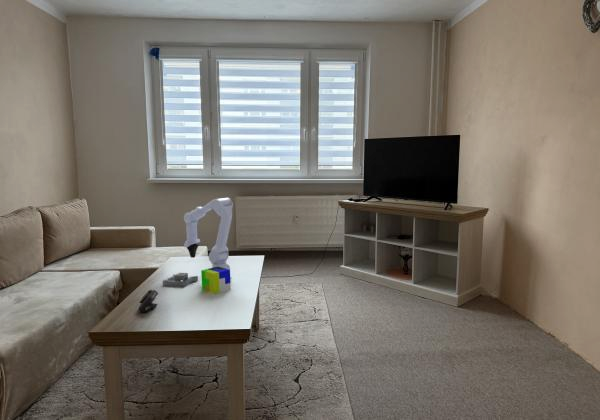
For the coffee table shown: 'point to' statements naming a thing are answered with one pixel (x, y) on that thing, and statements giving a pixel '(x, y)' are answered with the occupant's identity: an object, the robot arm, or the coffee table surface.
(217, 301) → the coffee table surface
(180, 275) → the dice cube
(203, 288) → the puzzle toy
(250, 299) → the coffee table surface
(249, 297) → the coffee table surface
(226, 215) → the robot arm
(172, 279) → the chassis bay
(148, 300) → the black angular device
